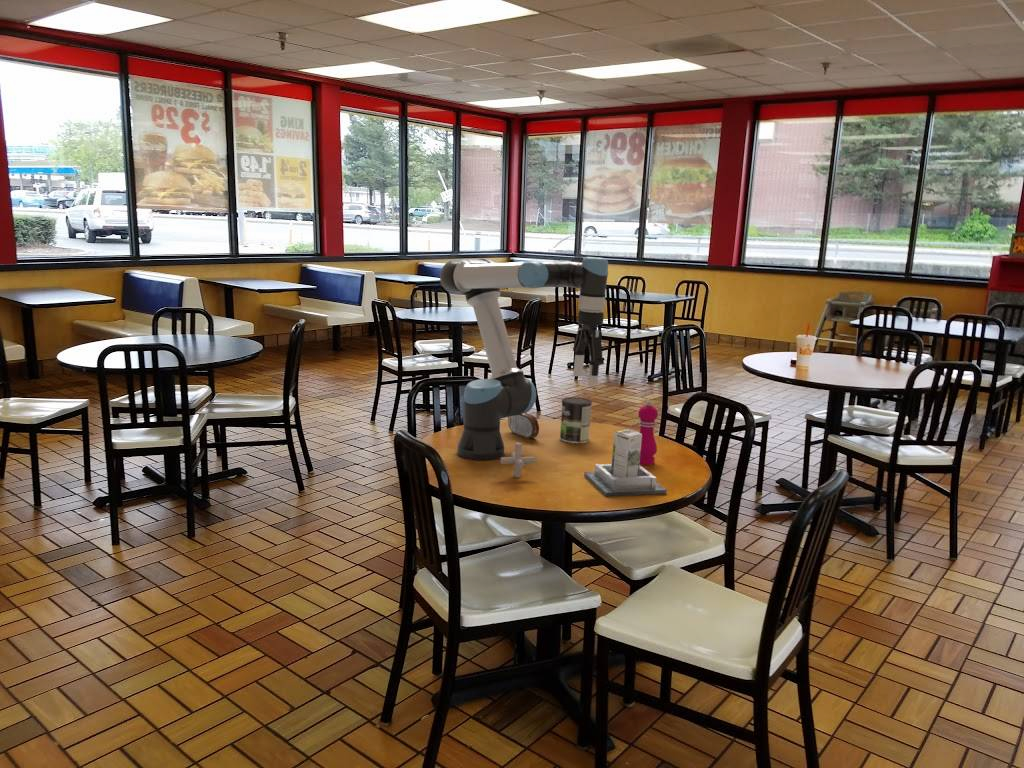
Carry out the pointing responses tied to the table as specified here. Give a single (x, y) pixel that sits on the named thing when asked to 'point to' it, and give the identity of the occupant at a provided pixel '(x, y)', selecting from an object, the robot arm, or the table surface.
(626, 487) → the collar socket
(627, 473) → the syrup box
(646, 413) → the pepper mill
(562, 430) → the coffee can
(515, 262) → the robot arm
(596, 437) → the table surface
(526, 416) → the tin
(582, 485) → the table surface
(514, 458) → the pipe connector
